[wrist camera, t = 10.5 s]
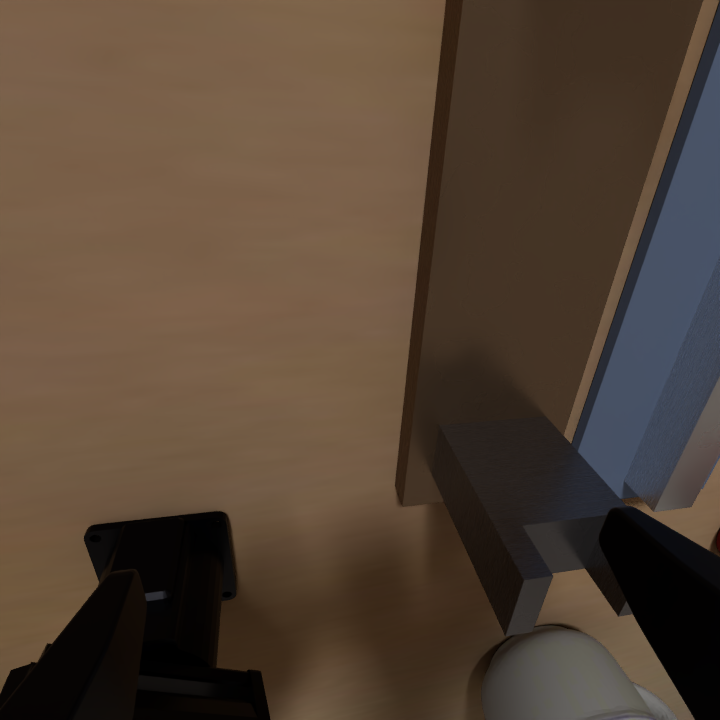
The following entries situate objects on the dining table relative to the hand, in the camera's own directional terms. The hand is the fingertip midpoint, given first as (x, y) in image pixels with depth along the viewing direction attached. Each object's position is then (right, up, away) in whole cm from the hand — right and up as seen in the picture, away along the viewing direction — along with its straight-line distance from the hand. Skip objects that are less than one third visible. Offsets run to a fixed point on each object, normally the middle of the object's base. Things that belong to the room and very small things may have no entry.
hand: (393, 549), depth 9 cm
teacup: (+14, -19, +28) cm, 37 cm away
